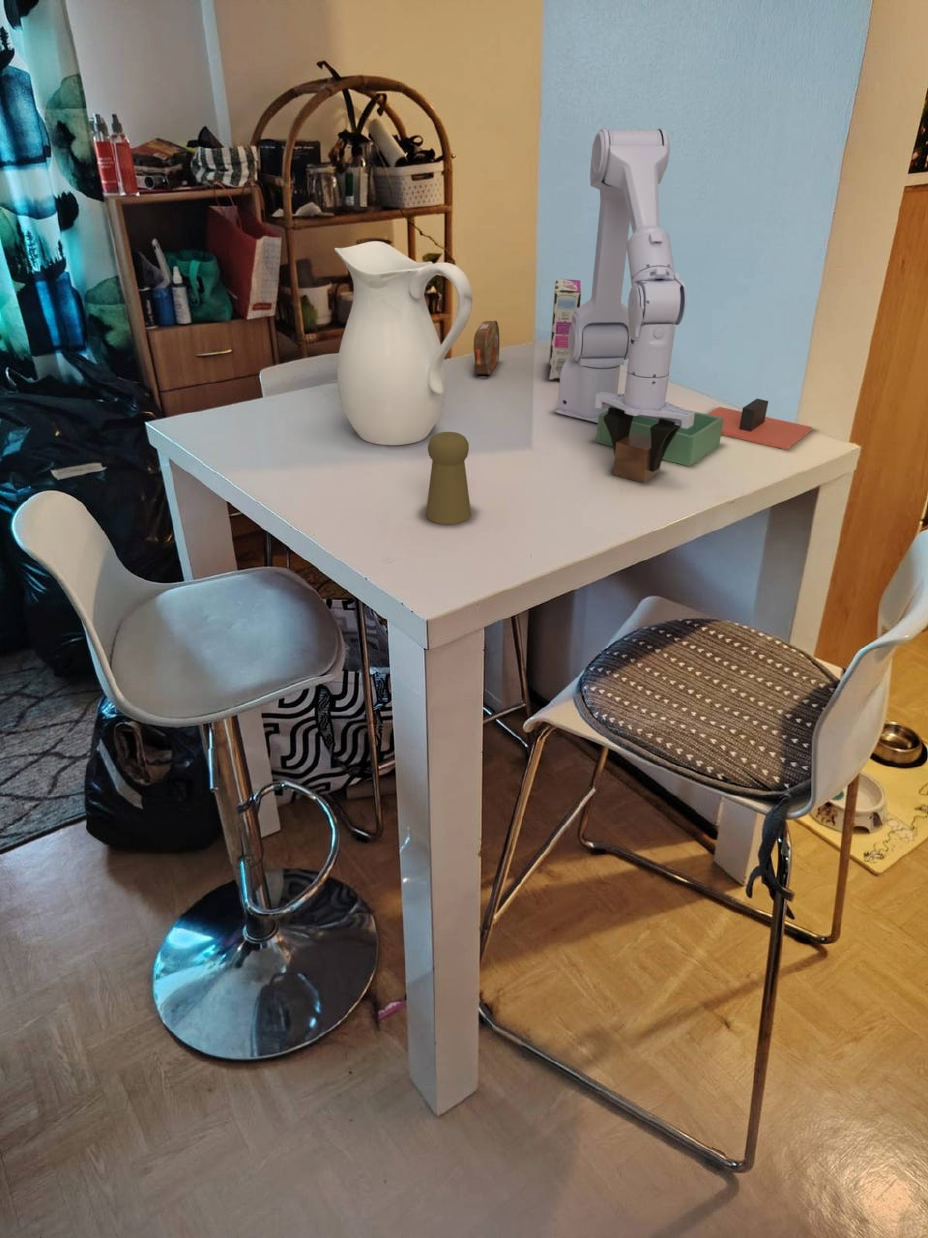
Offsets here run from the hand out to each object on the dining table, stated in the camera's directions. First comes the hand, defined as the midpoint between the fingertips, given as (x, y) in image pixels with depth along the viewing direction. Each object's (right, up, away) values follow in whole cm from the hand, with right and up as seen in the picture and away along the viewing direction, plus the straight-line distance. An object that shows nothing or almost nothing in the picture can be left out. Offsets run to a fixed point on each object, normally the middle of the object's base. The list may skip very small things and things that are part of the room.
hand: (636, 464), depth 130 cm
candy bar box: (-6, +25, +43) cm, 50 cm away
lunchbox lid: (+22, +9, +17) cm, 30 cm away
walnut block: (0, -1, +1) cm, 1 cm away
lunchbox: (+5, +5, +11) cm, 13 cm away
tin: (-21, +26, +45) cm, 56 cm away
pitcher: (-34, +6, +12) cm, 36 cm away
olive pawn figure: (-27, -9, -12) cm, 31 cm away
